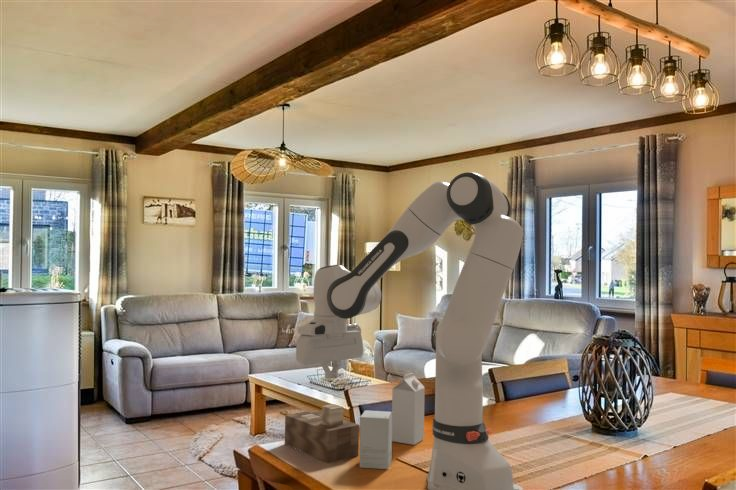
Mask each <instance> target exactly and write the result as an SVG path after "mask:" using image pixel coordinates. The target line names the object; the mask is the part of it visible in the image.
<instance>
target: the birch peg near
mask: <svg viewBox="0 0 736 490" xmlns="http://www.w3.org/2000/svg"><path fill="white" fill-rule="evenodd" d="M321 412H322V424H324V425H327V426H330V427H333V426H338V425H343V420H344V406H342V405H338V404H335V403H333V404H327V405H322V406H321Z"/></svg>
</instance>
